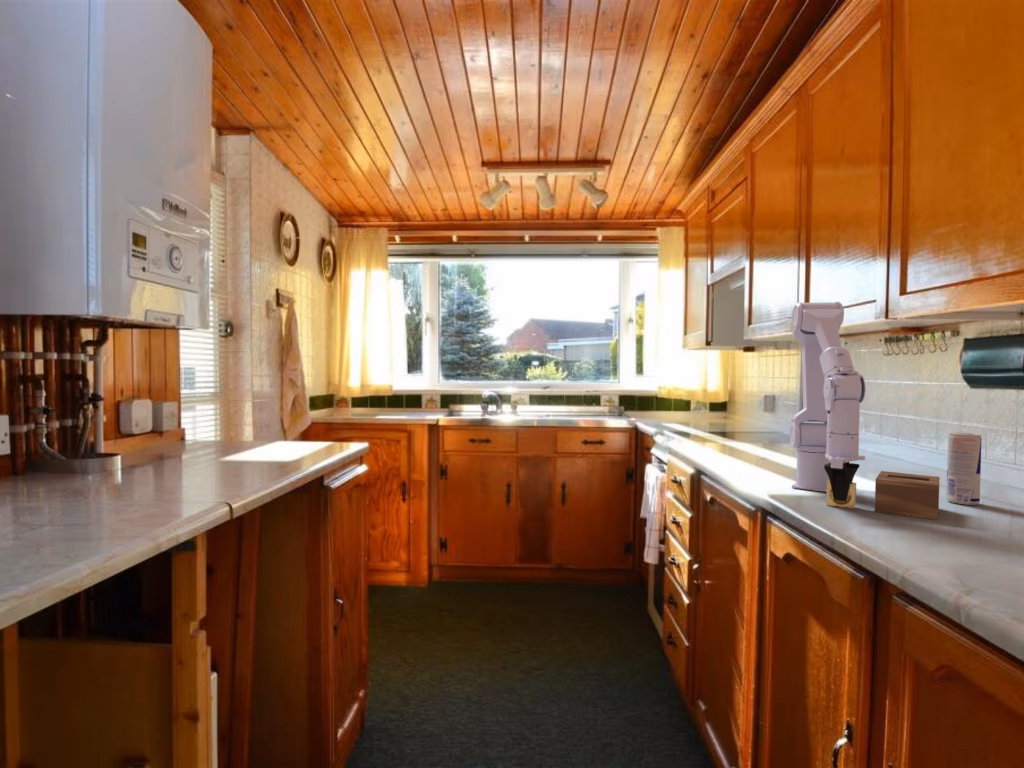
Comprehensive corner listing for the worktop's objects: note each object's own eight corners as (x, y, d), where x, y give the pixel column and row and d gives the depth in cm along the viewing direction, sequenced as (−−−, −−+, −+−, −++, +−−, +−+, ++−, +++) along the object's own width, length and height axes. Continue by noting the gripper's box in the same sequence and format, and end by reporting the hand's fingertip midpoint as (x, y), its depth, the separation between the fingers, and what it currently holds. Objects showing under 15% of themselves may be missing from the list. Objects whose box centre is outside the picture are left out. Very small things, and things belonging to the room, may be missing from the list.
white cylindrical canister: (985, 506, 118) (988, 434, 118) (955, 505, 120) (957, 433, 119) (969, 500, 124) (972, 432, 124) (940, 499, 125) (942, 431, 125)
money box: (880, 501, 122) (881, 470, 122) (938, 508, 116) (939, 476, 116) (874, 511, 113) (875, 478, 113) (937, 520, 107) (938, 485, 107)
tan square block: (828, 503, 120) (828, 479, 120) (855, 507, 117) (856, 482, 117) (826, 505, 118) (826, 481, 118) (854, 509, 115) (854, 484, 115)
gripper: (861, 437, 109) (859, 508, 109) (869, 432, 120) (867, 496, 121) (819, 434, 113) (818, 503, 113) (831, 429, 125) (830, 491, 125)
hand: (841, 499), depth 117 cm, fingers closed on tan square block, 2 cm apart
